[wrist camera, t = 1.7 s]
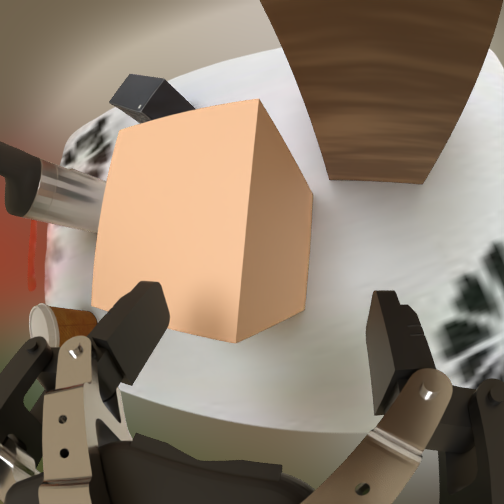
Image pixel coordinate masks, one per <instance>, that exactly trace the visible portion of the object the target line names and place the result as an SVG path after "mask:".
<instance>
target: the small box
mask: <svg viewBox="0 0 504 504" xmlns="http://www.w3.org/2000/svg"><path fill="white" fill-rule="evenodd" d="M110 104H112V105H114V106H115V107H117V108H119V109H120V110H122V111H123V112H125V113H126V114H127V115H129V116H130V117H132V118H133V119H135V120H136V121H138V122H139V123H140V124H141V123H145V122H148V121H152V120H155V119H159V118H163V117H166V116H170V115H174V114H178V113H182V112H187V111H191V110H196V109H195V108H194V107H193V106H192V105H191V104H190V103H189V102H188V101H187V100H186V99H185V98H184V97H183V96H182V95H181V94H180V93H179V92H178V91H176V90H175V89H174V88H173V87H172V86H171V85H170V84H169V83H168V82H167V81H166V80H165V79H162V78H156V77H148V76H141V75H135V74H129V76H128V77H127V78H126V79H125V81H124V82H123V84H122V85H121V86H120V88H119V89H118V90H117V92H116V93H115V94H114V96H113V97H112V99H111V100H110Z"/></svg>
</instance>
